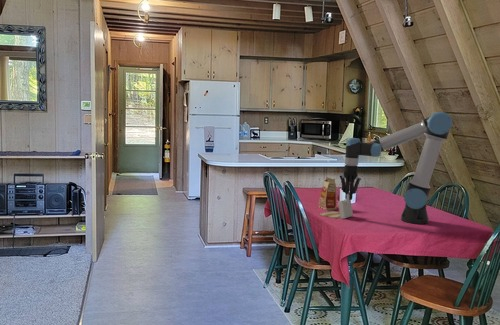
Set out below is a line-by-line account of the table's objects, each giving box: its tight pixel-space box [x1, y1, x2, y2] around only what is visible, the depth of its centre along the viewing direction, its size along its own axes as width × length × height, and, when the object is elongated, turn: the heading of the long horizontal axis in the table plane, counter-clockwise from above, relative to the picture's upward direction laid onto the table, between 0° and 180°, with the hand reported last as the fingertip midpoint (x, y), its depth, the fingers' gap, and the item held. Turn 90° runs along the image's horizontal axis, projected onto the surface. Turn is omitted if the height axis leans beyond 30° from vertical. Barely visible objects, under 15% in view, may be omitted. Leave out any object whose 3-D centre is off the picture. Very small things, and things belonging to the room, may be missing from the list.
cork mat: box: [318, 210, 341, 220], centre depth 287 cm, size 12×14×1 cm
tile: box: [337, 199, 354, 220], centre depth 281 cm, size 3×10×10 cm, turn 140°
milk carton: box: [318, 176, 338, 211], centre depth 304 cm, size 9×9×20 cm
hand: (348, 204), depth 280 cm, fingers closed
